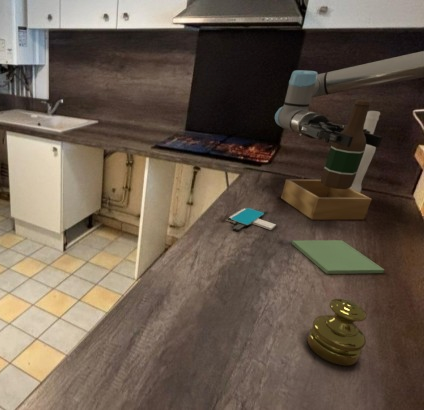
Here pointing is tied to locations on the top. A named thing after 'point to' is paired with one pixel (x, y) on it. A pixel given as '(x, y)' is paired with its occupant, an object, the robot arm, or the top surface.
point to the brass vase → (338, 333)
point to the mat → (336, 257)
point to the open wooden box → (325, 200)
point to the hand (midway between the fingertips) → (364, 141)
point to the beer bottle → (347, 151)
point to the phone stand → (249, 219)
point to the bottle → (366, 150)
